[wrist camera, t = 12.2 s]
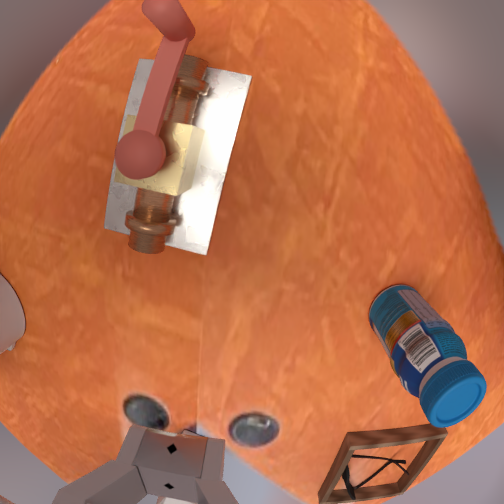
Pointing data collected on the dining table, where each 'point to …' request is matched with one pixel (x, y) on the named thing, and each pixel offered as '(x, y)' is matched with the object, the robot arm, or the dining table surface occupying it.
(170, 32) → the lever
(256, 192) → the dining table surface
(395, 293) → the beverage bottle
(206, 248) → the valve body
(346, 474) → the sunglasses
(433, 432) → the glasses tray
